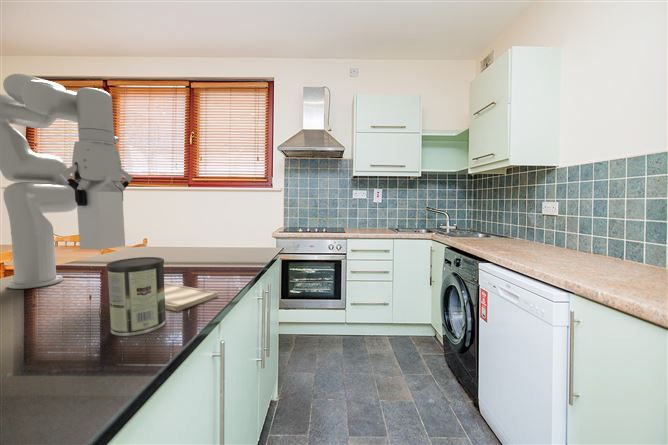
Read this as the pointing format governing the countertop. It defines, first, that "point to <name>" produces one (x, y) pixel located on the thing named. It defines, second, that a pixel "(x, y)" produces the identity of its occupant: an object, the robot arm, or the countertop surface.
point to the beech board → (185, 296)
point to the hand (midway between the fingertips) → (100, 205)
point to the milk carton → (101, 217)
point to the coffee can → (136, 295)
